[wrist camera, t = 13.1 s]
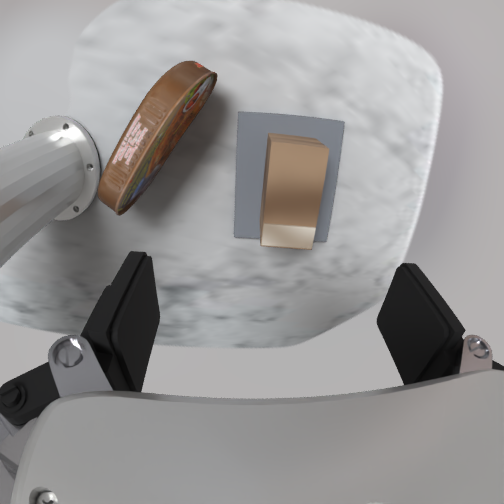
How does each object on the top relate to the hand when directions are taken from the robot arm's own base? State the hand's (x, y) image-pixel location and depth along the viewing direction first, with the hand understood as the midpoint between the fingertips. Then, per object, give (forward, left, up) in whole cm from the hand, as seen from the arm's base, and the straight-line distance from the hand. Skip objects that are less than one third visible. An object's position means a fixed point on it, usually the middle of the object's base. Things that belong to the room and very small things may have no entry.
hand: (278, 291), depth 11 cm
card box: (+2, -1, -19) cm, 19 cm away
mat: (+2, -2, -20) cm, 20 cm away
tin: (-10, +3, -20) cm, 22 cm away
